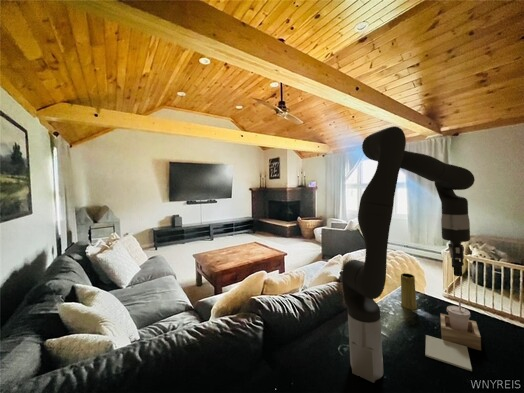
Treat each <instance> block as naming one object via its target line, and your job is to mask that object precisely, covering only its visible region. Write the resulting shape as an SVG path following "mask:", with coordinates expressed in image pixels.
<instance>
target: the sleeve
mask: <svg viewBox="0 0 524 393" xmlns="http://www.w3.org/2000/svg"><path fill="white" fill-rule="evenodd" d="M439 314H440V332H441V339H442V340H445V341H449V342H452V343H456V344H459V345H463V346H467V348H470V349H474V350H477V351H482V338H481V337H482V336H481V334H480V330H479V327H478V324H477V321H475V320H470V319H469V323H468V330H467V332H465V331H461V330H457V329H454V328H451V324H450V319H449V314H445V313H442V312H441V313H439Z"/></svg>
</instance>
